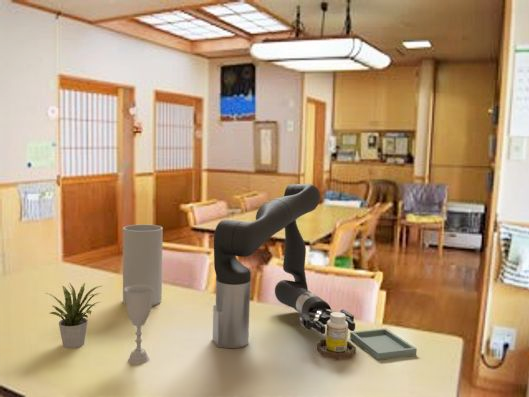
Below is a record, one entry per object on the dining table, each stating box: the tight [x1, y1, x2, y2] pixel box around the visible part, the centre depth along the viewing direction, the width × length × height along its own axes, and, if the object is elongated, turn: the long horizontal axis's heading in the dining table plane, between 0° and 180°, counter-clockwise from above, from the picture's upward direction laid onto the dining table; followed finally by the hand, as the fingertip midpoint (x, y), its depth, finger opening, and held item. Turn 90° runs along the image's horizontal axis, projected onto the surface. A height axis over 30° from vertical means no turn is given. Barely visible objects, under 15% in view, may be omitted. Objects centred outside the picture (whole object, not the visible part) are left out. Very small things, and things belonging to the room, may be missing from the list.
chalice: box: [124, 284, 154, 365], centre depth 120 cm, size 7×7×18 cm
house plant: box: [45, 282, 102, 349], centre depth 128 cm, size 14×14×16 cm
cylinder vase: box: [122, 224, 164, 307], centre depth 163 cm, size 12×12×25 cm
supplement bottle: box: [325, 311, 349, 353], centre depth 130 cm, size 6×6×10 cm
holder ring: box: [316, 339, 357, 361], centre depth 130 cm, size 10×10×2 cm
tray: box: [349, 328, 418, 361], centre depth 135 cm, size 12×15×2 cm
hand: (339, 329), depth 129 cm, fingers open, 8 cm apart
